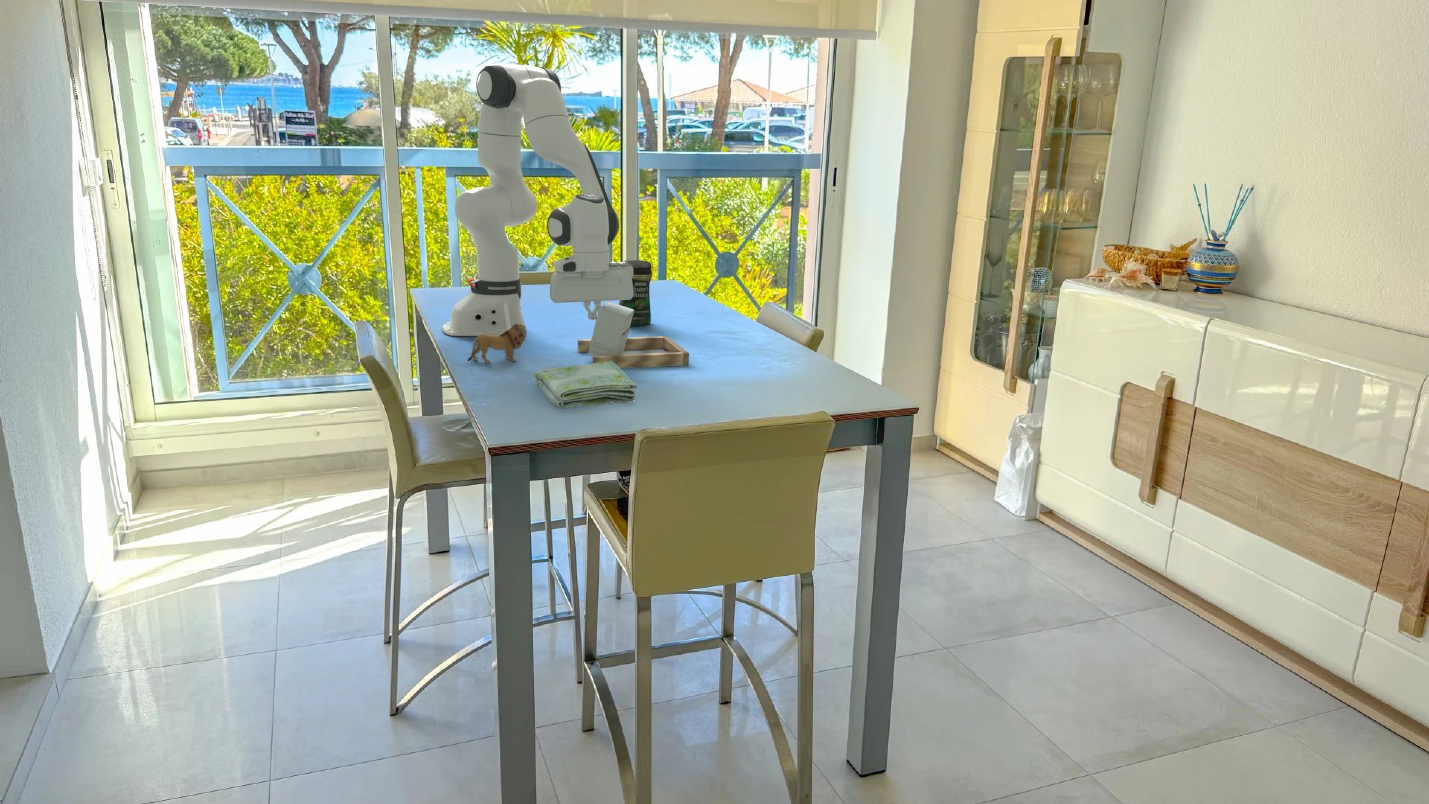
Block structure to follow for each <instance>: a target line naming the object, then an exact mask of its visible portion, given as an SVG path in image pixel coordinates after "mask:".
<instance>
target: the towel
mask: <svg viewBox="0 0 1429 804" xmlns="http://www.w3.org/2000/svg"><path fill="white" fill-rule="evenodd" d="M534 378H535V382H536V383H535V384H536V385H537V386H538V387H539V388H540V389H541V390H542V392H543V393H544V394H545V395H546V397H547V396H548V397H547V398H548V399H549V400H550V401H551V403H552V404H553V405H554V406H555V407H557V408H560V409H561V408H564V409H566V408H573V407H581V406H582V405H583V406H592V405H603V404H611V403H610V402H614V403H622V402H628V403H629V402H630V401H633V400H635V401H636V399H635V397H636V390H635V389H637V388H638V385H637V383H636V382H635V381H634V380H632V379H631V378H630V377H629V376H628V375H627V374H626V373H625V371H624V370H623V369H622V368H619V367H618V366H617V365H616V364H615V363H613V362H612V361H610V362H599V363H593V362H592V363H586V364H578V365H577V364H576V365H569V366H568V365H567V366H560V367H552V368H546V369H540V370H537V371H536V372H535V373H534ZM583 406H582V407H583Z"/></svg>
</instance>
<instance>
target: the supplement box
mask: <svg viewBox="0 0 1429 804" xmlns="http://www.w3.org/2000/svg"><path fill="white" fill-rule="evenodd" d="M633 313H634V310H633V309H631V308H627V307H624V306H621V305H619V303H618V304H617V303H614V302H611V301H605V303H603V304H601V306H600V307H599V310H598V312H597V319H595V324H594V326H593V327H594V328H593V331H592V335H591V336H592V337H591V339H592V340H591V344H590V348H589V352H587V354H588V355H591V356H592V357H593V356H608V355H623V352H624V348H625V344H626V340H627V338H629V337H628V336H629V333H630V328H631V326H630V325H631V320H632V317H633Z"/></svg>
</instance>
